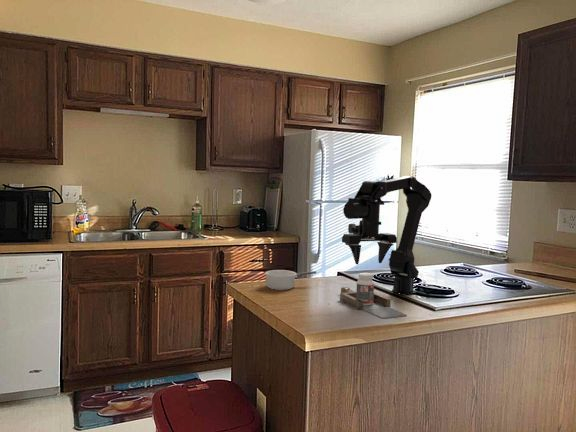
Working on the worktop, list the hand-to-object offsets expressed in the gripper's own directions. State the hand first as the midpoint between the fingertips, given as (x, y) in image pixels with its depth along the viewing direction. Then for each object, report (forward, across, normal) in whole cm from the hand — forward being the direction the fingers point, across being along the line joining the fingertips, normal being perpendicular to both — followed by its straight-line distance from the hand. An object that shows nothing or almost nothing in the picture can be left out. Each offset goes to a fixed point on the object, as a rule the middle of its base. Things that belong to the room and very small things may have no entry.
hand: (368, 263), depth 164 cm
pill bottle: (+13, +3, +4) cm, 14 cm away
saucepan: (+13, +18, -25) cm, 33 cm away
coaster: (+13, +3, +16) cm, 20 cm away
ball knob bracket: (+13, +3, 0) cm, 13 cm away
